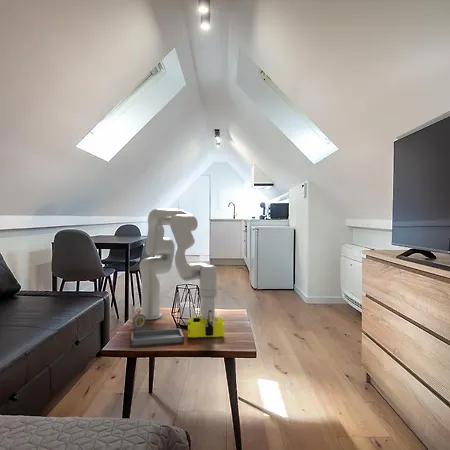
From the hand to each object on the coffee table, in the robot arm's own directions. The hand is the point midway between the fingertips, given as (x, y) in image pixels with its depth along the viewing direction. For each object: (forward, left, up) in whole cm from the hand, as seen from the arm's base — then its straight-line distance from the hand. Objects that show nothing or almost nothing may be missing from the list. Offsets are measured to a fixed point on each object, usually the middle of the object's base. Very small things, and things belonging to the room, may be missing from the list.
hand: (207, 332), depth 158 cm
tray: (-1, -22, -2) cm, 22 cm away
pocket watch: (-14, -28, -2) cm, 31 cm away
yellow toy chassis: (0, -1, -2) cm, 2 cm away
